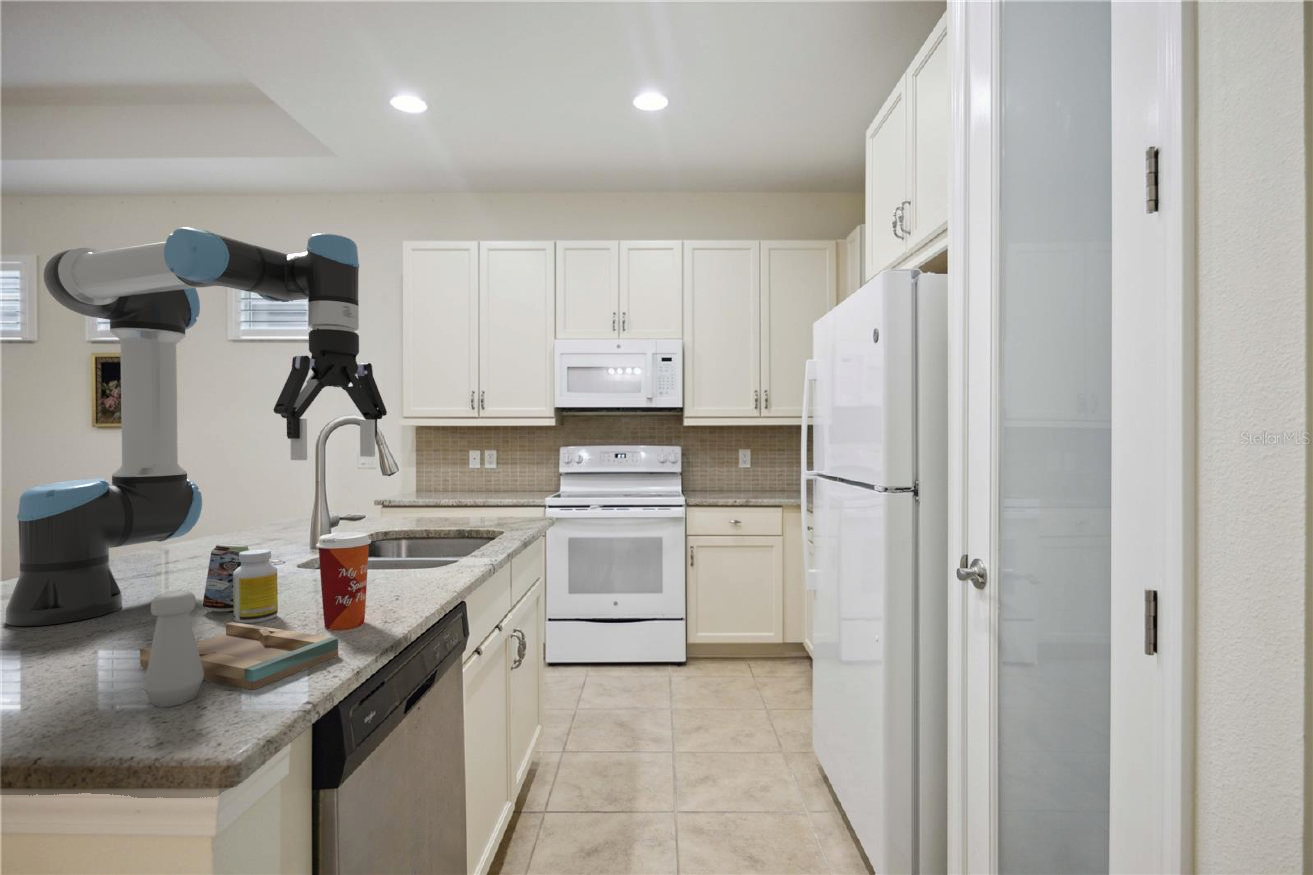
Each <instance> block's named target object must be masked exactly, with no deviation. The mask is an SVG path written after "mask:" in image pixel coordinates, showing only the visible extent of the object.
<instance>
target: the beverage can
mask: <svg viewBox="0 0 1313 875" xmlns="http://www.w3.org/2000/svg"><path fill="white" fill-rule="evenodd" d="M249 550H250V549H249V545H248V544H242V543H241V544H239V543H238V544H237V543H218V544H217V543H216V544H215V547H213V549H212V550H211V552H210V557H209V562H208V570H207V576H206V581H205V587H204V594H203V599H202V606H203V607H205V608H206V610H207V611H211V612H231V611H233V612H234V597H233V573H234V571H235V570H236V569H237V568H238V567H240V566H241V562H239V553H240V552H243V551H249Z"/></svg>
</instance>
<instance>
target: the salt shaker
mask: <svg viewBox="0 0 1313 875" xmlns="http://www.w3.org/2000/svg"><path fill="white" fill-rule="evenodd" d="M196 601H197V600H196V594H194V593H193V592H192V591H189V590H175V591H167V592H163V593H160V594H158V595H156V596H155V597H154V598H153V599H152V601H151V604H150V613H151V614H152V615H153V616H155V617H157V618H156V622H155V626H154V627H155V628H154V631H153V637H152V638H153V639H152V643H151V646H150V647H151V653H150V658H149V663H148V668H146V674H145V678H144V684H143V688H144V692H145V694H146V696H147V698H148V699H149V701H150V702H151V704H152V706H154V707H159V708H168V707H175V706H181V705H184V704H185V703H187V702H189V701H192V700H194V699H195V698H196V697H197V694H198V692H199V691H200V688H201V687H202V683H203V677H204V671H203V667H202V664H201V660H200V656H199V652H198V648H197V644H196V642H197V641H196V637H195V634H194V633H195V632H194V630H193V625H192V619H191V617H190V613H191V612H192V611H193V610H194V609H195V607H196V603H197V602H196Z"/></svg>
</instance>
